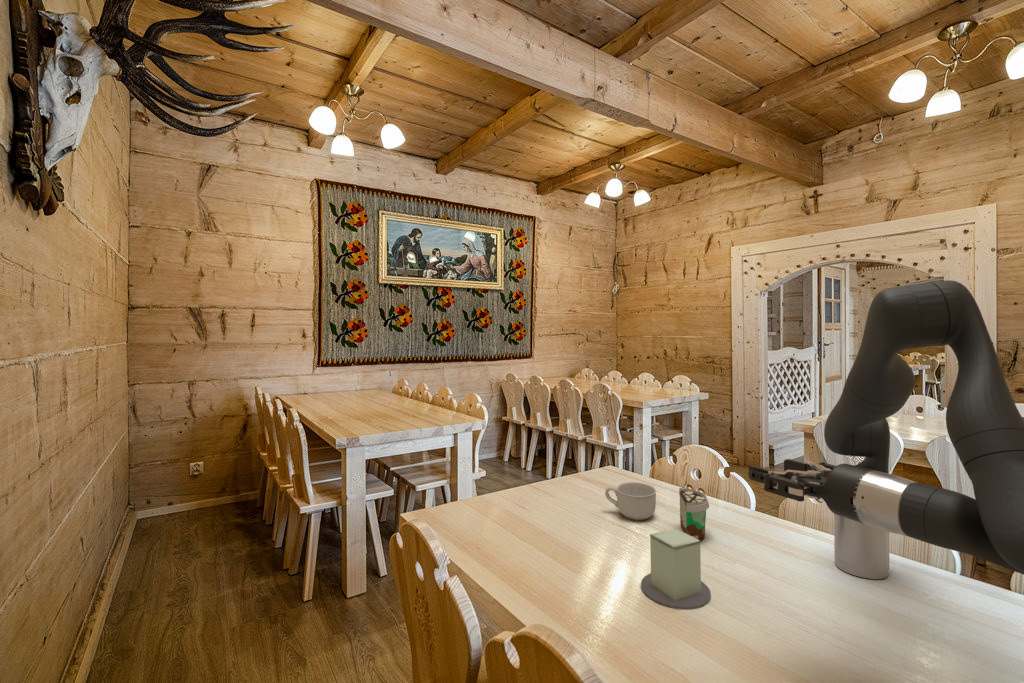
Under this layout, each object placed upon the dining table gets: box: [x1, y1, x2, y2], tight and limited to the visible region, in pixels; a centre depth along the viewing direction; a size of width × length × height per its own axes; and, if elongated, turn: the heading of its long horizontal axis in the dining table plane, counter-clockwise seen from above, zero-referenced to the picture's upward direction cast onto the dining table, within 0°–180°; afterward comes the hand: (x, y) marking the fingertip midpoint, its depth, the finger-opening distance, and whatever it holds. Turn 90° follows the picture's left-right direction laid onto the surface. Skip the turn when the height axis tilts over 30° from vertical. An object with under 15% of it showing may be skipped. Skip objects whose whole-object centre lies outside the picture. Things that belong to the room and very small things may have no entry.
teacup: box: [604, 481, 657, 521], centre depth 132 cm, size 14×11×8 cm
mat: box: [640, 572, 712, 610], centre depth 93 cm, size 13×13×1 cm
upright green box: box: [649, 527, 702, 600], centre depth 93 cm, size 7×7×10 cm
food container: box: [678, 487, 710, 542], centre depth 118 cm, size 12×6×10 cm, turn 168°
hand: (767, 468), depth 79 cm, fingers open, 8 cm apart
